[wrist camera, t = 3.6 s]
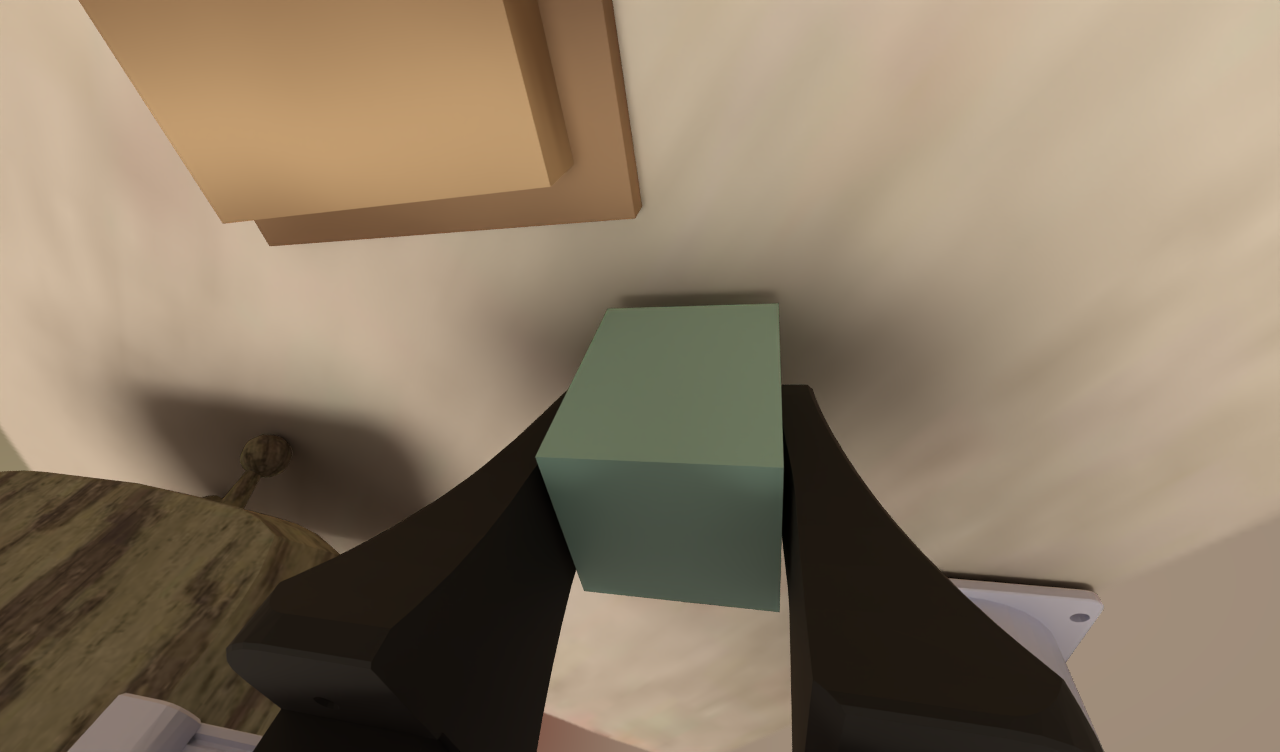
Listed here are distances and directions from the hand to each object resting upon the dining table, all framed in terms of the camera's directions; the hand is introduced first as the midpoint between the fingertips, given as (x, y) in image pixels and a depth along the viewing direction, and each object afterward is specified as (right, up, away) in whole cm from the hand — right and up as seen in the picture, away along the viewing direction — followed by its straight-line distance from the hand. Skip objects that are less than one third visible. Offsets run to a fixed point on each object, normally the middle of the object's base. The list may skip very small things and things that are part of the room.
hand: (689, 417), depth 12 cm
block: (0, +1, +1) cm, 2 cm away
